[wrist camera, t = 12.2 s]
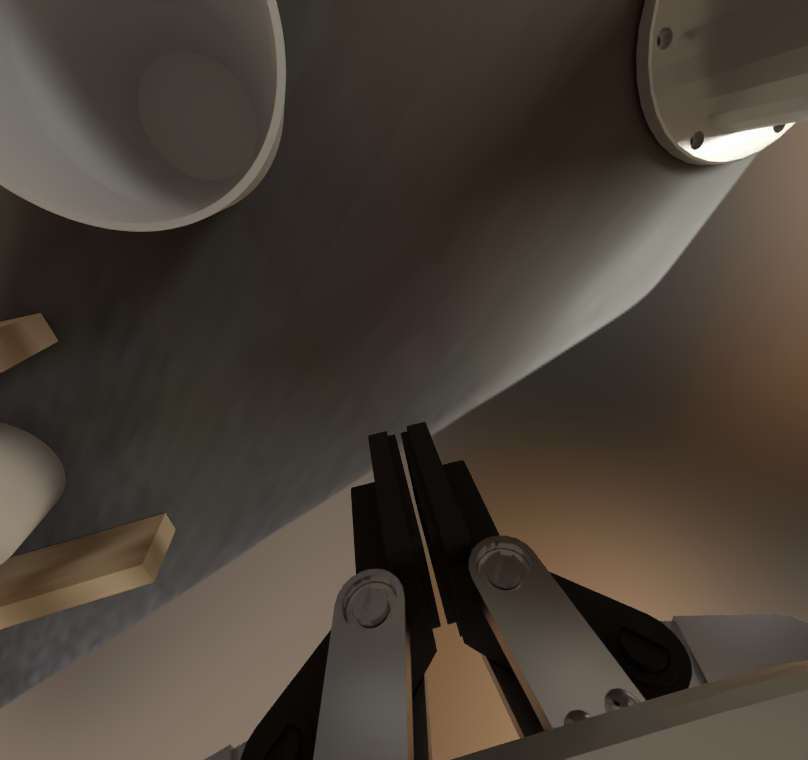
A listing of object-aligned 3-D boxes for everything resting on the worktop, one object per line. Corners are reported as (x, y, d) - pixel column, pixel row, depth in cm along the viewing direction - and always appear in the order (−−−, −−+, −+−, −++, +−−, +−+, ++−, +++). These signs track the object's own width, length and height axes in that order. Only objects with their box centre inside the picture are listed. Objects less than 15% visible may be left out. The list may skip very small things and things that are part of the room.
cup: (61, -8, 15) (-313, -329, 6) (281, 6, 16) (249, -231, 7) (131, 222, 18) (-39, 239, 9) (306, 215, 20) (307, 224, 11)
